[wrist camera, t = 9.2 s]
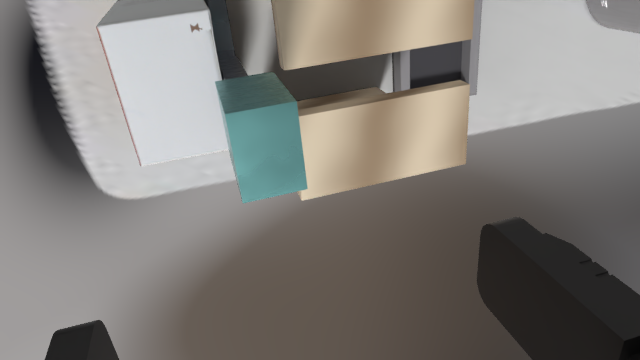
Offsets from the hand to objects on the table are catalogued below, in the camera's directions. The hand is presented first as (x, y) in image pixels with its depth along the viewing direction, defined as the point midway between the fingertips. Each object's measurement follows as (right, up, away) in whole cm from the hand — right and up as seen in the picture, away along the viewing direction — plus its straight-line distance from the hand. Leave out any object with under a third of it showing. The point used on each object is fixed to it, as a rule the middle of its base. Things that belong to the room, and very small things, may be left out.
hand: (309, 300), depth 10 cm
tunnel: (0, +14, +26) cm, 29 cm away
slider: (-7, +12, +25) cm, 29 cm away
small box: (-10, +12, +24) cm, 29 cm away
